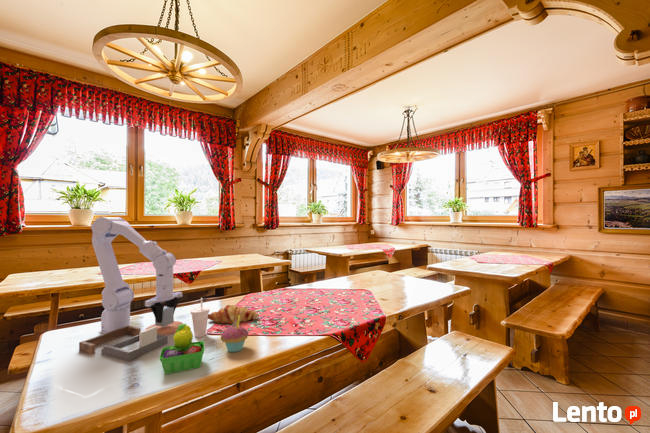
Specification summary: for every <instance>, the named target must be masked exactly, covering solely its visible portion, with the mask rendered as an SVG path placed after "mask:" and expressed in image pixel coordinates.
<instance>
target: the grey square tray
mask: <svg viewBox="0 0 650 433" xmlns="http://www.w3.org/2000/svg"><path fill="white" fill-rule="evenodd" d="M137 341H138V342H139V343H138V344H139V346H138V347H135V348H133V349H131V350H128V349H124V348H122V347H125V346H127V345H130V344H131V343H134V342H137ZM167 344H168V335H160V334H157V327H152V328H149V329H147V330H145V329H144V330H140V332H139V335H136V336H134V335H133V336H132V337H129V338H127V339H124V340H122V341H119V342H118V341H117V342H116V343H113V344H111V345H109V344H106V345H104V346H103V347H102V348H101V355H105V356H108V357H112V358H116V359H119V360H123V361H128V362H130V361H132V360H133V359H137V358H139V357H142V356H144V355H146V354H148V353H150V352H152V351H154V350H156V349H158V348H160V347H163V346H165V345H167Z"/></svg>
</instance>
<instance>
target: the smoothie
mask: <svg viewBox="0 0 650 433" xmlns="http://www.w3.org/2000/svg"><path fill="white" fill-rule="evenodd" d="M209 312H210V307H208V306H203V297H200V306H198V307H194V308H192V309H191V310H190V315H191V319H192V326H193V334H194V335H193V336H194V337H195V338H202V337H204V336H206V335H207V334H206V333H207V326H208V320H209V319H208V314H210V313H209Z"/></svg>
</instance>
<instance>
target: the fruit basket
mask: <svg viewBox="0 0 650 433" xmlns="http://www.w3.org/2000/svg"><path fill="white" fill-rule="evenodd" d="M193 334H194V333H193V332H192V330H191V326H189V325H187V323H183V324H181V325H179V326H178V329H177V330H176V333H174V335H173V337H172V340H173V344H174V345H171V346H166V347H163V348H161V351H160V354H159V358H158V359H159V361H160V363H161V366H162V370H163V372H164V374H165V375H168V374H171V373H178V372H182V371H188V370H192V369H198V368H201V364H202V362H203V360H202V359H203V356H204V353H205V341H204V340H200V341H194V342H193V338H194V335H193Z"/></svg>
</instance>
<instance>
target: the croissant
mask: <svg viewBox="0 0 650 433" xmlns="http://www.w3.org/2000/svg"><path fill="white" fill-rule="evenodd" d="M239 313H240V321H239V323H241V321H242V322H247V321H251V319H253V320H255V319H257V318H258V317H259V313H258V312H255V311H254V310H250V309H248V308H246V307H245V306H242V307H241V306H237V305H236V304H227V305H225V307H224V308H219V310H217V311H213V312H211V313H208V320H210V321H213V322H214V323H217V324H224V323H228V324H233V323H234V324H235V320H236V318H237V321H238V315H239Z"/></svg>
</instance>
